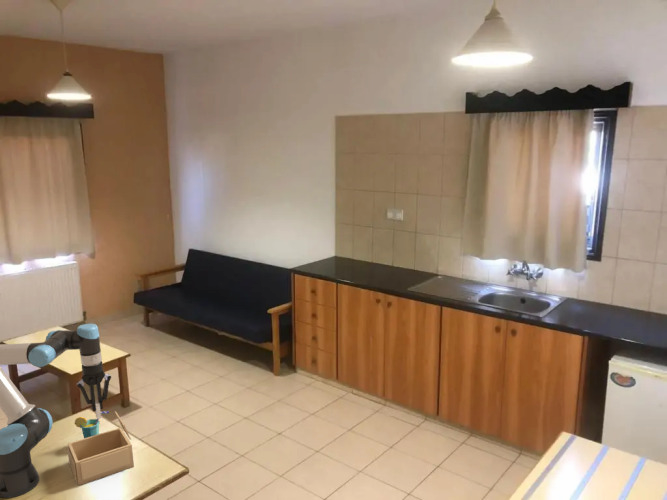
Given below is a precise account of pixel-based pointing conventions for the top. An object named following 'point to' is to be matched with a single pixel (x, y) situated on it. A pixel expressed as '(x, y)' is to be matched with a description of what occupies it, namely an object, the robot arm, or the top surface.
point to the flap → (122, 425)
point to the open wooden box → (100, 456)
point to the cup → (88, 426)
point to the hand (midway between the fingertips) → (98, 417)
